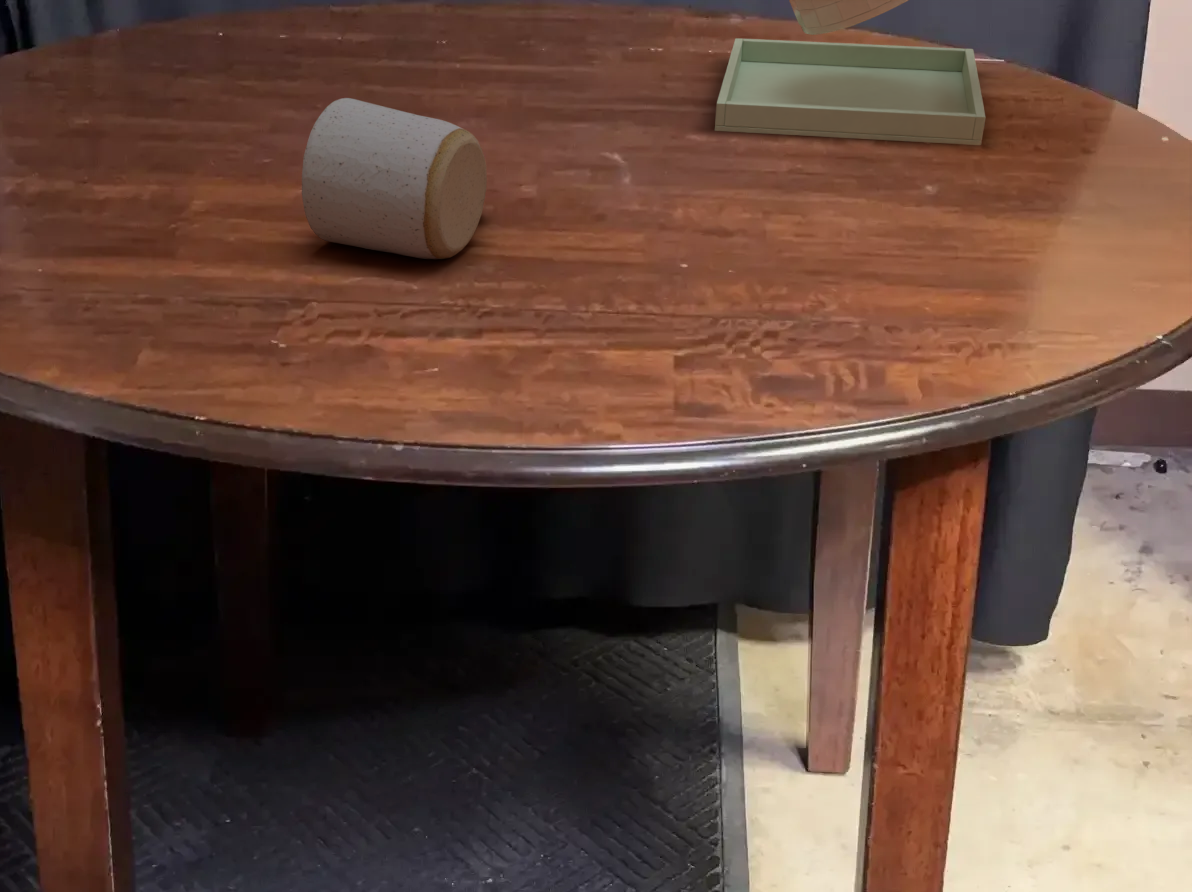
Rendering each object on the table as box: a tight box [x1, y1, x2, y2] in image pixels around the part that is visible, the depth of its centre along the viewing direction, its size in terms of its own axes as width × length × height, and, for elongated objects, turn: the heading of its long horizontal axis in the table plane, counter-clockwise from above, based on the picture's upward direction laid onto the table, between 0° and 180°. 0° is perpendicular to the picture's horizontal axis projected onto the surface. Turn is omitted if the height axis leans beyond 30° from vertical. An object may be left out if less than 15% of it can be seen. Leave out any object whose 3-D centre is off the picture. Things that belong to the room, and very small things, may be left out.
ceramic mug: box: [301, 97, 488, 260], centre depth 83 cm, size 11×8×8 cm
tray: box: [714, 37, 987, 146], centre depth 105 cm, size 17×16×2 cm
